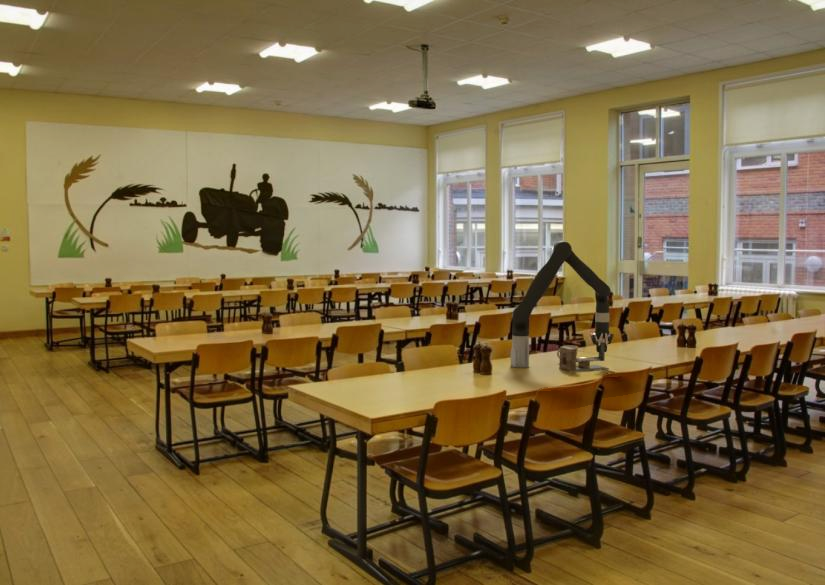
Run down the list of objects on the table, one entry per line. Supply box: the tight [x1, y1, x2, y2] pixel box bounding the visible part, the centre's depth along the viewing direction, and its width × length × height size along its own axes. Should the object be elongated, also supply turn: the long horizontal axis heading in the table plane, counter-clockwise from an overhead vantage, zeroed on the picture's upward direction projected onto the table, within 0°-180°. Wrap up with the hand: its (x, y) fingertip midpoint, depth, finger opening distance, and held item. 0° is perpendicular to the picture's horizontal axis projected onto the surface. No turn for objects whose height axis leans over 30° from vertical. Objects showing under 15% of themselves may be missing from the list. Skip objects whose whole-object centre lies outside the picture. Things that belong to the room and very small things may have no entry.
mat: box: [558, 364, 610, 373], centre depth 391 cm, size 24×11×1 cm, turn 109°
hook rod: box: [576, 338, 606, 363], centre depth 391 cm, size 21×4×13 cm, turn 109°
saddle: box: [577, 360, 591, 369], centre depth 391 cm, size 4×5×5 cm
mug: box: [556, 344, 579, 360], centre depth 408 cm, size 8×13×10 cm, turn 53°
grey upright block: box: [559, 345, 577, 373], centre depth 388 cm, size 4×10×12 cm, turn 19°
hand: (601, 351), depth 394 cm, fingers closed on hook rod, 3 cm apart
